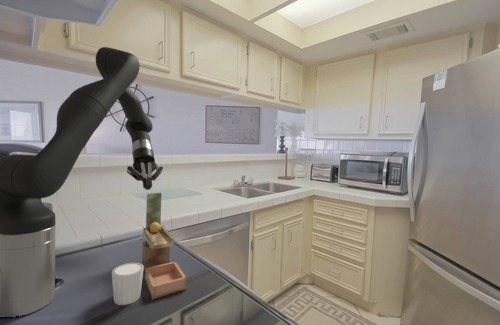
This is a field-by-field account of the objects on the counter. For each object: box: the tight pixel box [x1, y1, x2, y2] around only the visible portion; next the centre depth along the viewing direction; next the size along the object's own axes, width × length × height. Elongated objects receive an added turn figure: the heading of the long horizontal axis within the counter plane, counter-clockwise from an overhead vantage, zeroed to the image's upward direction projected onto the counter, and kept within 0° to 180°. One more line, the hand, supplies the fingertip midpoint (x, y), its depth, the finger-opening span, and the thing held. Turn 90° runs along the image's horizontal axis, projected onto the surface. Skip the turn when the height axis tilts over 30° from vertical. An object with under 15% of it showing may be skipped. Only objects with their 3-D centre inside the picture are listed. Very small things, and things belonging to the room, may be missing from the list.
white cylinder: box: [111, 262, 144, 306], centre depth 55 cm, size 7×7×7 cm
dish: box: [144, 261, 188, 300], centre depth 61 cm, size 8×10×3 cm
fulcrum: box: [141, 240, 171, 272], centre depth 71 cm, size 7×4×8 cm, turn 124°
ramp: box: [141, 192, 175, 250], centre depth 70 cm, size 6×14×13 cm, turn 34°
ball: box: [150, 222, 161, 233], centre depth 73 cm, size 3×3×3 cm
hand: (148, 188), depth 82 cm, fingers closed
